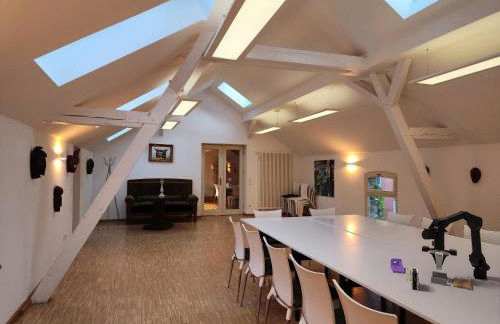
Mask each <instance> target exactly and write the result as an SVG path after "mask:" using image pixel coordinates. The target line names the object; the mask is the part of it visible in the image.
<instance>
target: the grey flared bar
mask: <svg viewBox="0 0 500 324" xmlns="http://www.w3.org/2000/svg"><path fill="white" fill-rule="evenodd" d="M435 255H436V264H435V270H439V271H442V269H443V265H442V259H443V254H438V253H437V254H436V253H435Z"/></svg>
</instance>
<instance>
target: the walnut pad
mask: <svg viewBox="0 0 500 324" xmlns="http://www.w3.org/2000/svg"><path fill="white" fill-rule="evenodd" d="M452 285H453V286H452V287H453V288H457V289H463V290H468V291H469V290H470V291H472V290H473V286H472V280H471V279H466V278H460V277H458V278H457V277H453V284H452Z"/></svg>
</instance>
